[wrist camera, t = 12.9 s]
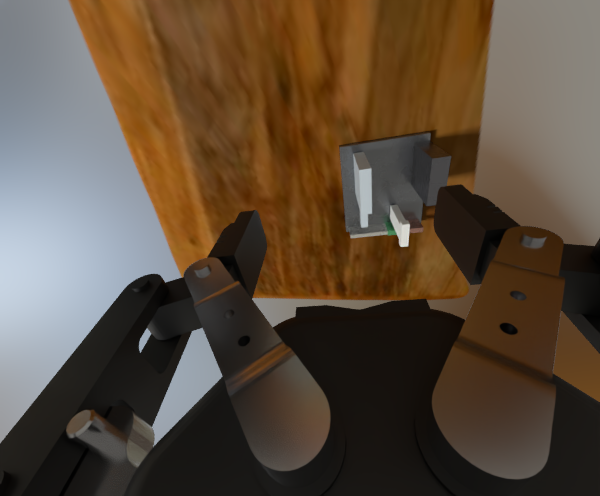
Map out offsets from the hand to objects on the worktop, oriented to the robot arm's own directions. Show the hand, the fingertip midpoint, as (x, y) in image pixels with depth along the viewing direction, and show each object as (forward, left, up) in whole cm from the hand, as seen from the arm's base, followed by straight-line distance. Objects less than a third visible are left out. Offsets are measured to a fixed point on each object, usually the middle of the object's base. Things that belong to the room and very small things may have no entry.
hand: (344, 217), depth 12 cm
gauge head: (+4, -10, -27) cm, 29 cm away
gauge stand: (+7, -11, -28) cm, 31 cm away
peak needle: (+9, -15, -27) cm, 32 cm away
